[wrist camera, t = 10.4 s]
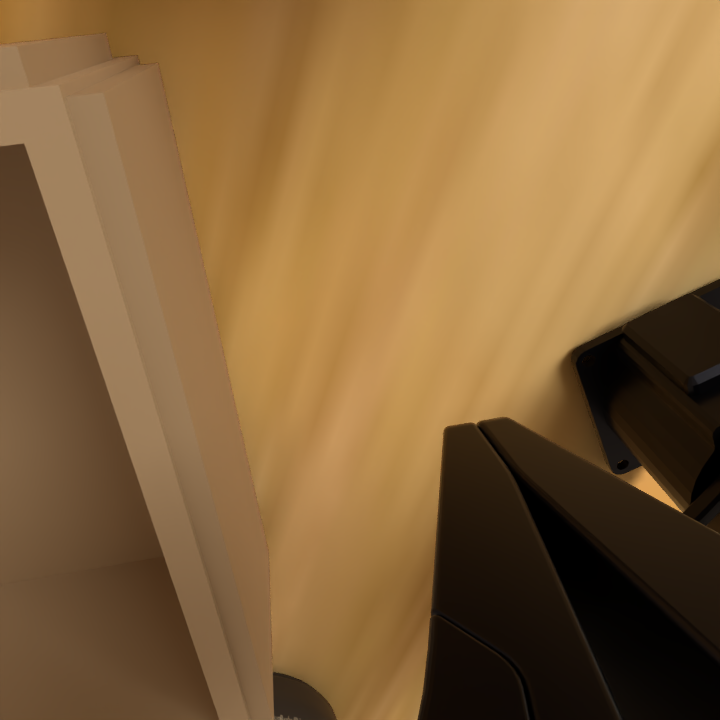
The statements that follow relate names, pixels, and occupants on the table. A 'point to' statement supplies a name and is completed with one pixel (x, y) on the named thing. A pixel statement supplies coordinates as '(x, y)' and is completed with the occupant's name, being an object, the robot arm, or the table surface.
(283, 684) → the jar
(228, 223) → the table surface
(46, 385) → the shipping carton
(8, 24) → the table surface
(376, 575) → the table surface
